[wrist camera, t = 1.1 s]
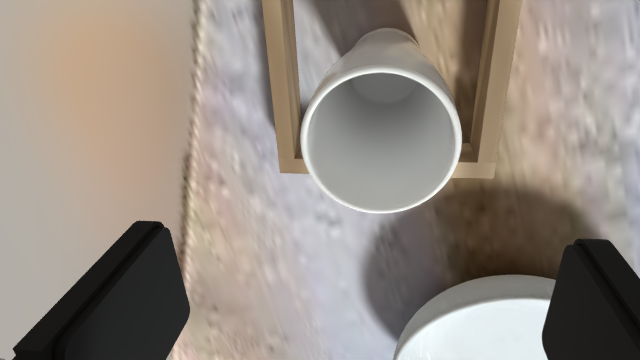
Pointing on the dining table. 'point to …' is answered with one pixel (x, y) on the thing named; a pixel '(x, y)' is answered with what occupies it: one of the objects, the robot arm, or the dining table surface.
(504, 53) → the oak corral
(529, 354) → the serving bowl
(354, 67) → the drinking glass
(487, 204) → the dining table surface
